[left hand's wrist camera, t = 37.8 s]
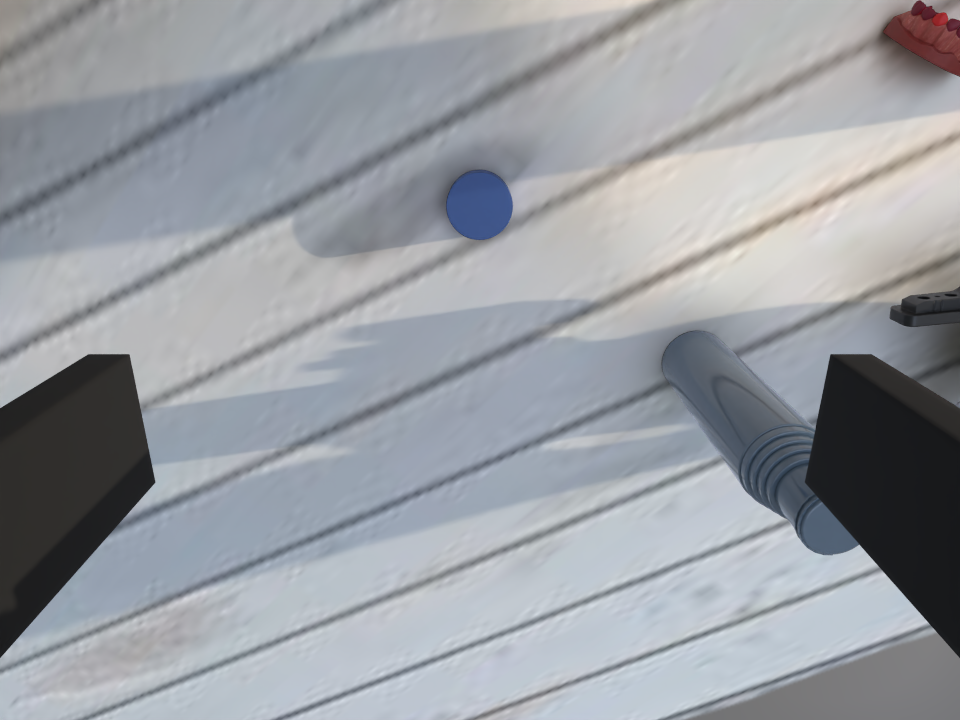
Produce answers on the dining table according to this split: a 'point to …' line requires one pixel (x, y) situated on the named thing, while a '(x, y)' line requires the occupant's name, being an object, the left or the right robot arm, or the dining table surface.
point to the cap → (479, 205)
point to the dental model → (928, 36)
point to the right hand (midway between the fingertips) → (889, 381)
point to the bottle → (753, 435)
